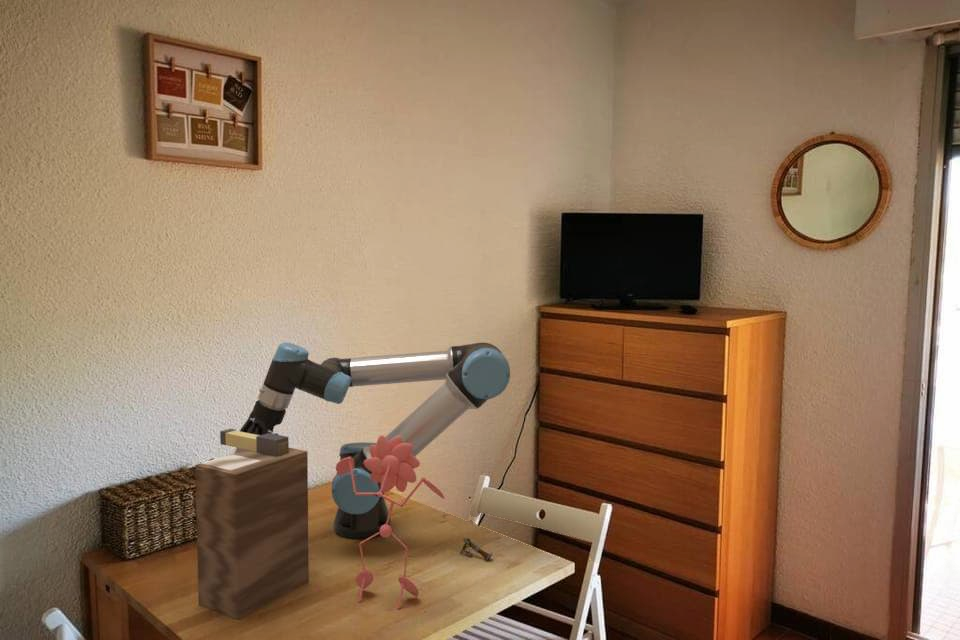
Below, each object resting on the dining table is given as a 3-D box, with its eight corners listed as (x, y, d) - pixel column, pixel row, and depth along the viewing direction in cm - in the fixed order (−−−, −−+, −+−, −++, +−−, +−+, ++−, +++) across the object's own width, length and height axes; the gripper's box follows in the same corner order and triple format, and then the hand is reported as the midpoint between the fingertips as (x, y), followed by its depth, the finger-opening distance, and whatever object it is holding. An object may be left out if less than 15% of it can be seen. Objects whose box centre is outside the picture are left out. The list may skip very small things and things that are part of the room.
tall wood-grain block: (308, 581, 165) (307, 450, 162) (238, 619, 148) (235, 473, 145) (270, 569, 171) (268, 442, 168) (198, 604, 154) (195, 463, 151)
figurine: (434, 617, 150) (437, 449, 147) (322, 598, 158) (323, 437, 155) (459, 586, 164) (462, 432, 162) (356, 570, 172) (357, 422, 169)
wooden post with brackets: (459, 549, 182) (466, 534, 181) (485, 567, 179) (492, 552, 178) (455, 551, 180) (462, 536, 179) (482, 570, 178) (489, 555, 176)
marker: (288, 453, 161) (288, 436, 160) (276, 456, 157) (276, 440, 157) (232, 441, 170) (231, 425, 169) (219, 444, 167) (219, 428, 166)
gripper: (242, 383, 186) (212, 459, 187) (274, 421, 166) (241, 506, 168) (269, 389, 191) (240, 463, 192) (304, 427, 171) (271, 510, 172)
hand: (240, 483), depth 180 cm, fingers open, 13 cm apart
